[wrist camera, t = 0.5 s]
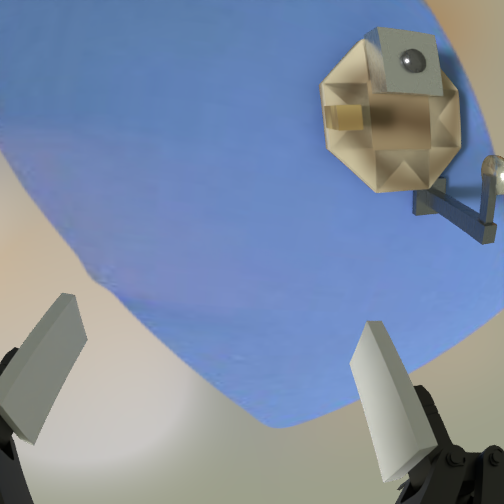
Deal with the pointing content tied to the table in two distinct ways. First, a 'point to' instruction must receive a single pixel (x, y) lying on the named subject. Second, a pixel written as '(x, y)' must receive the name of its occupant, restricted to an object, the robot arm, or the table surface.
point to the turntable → (388, 127)
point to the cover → (403, 62)
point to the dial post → (476, 225)
